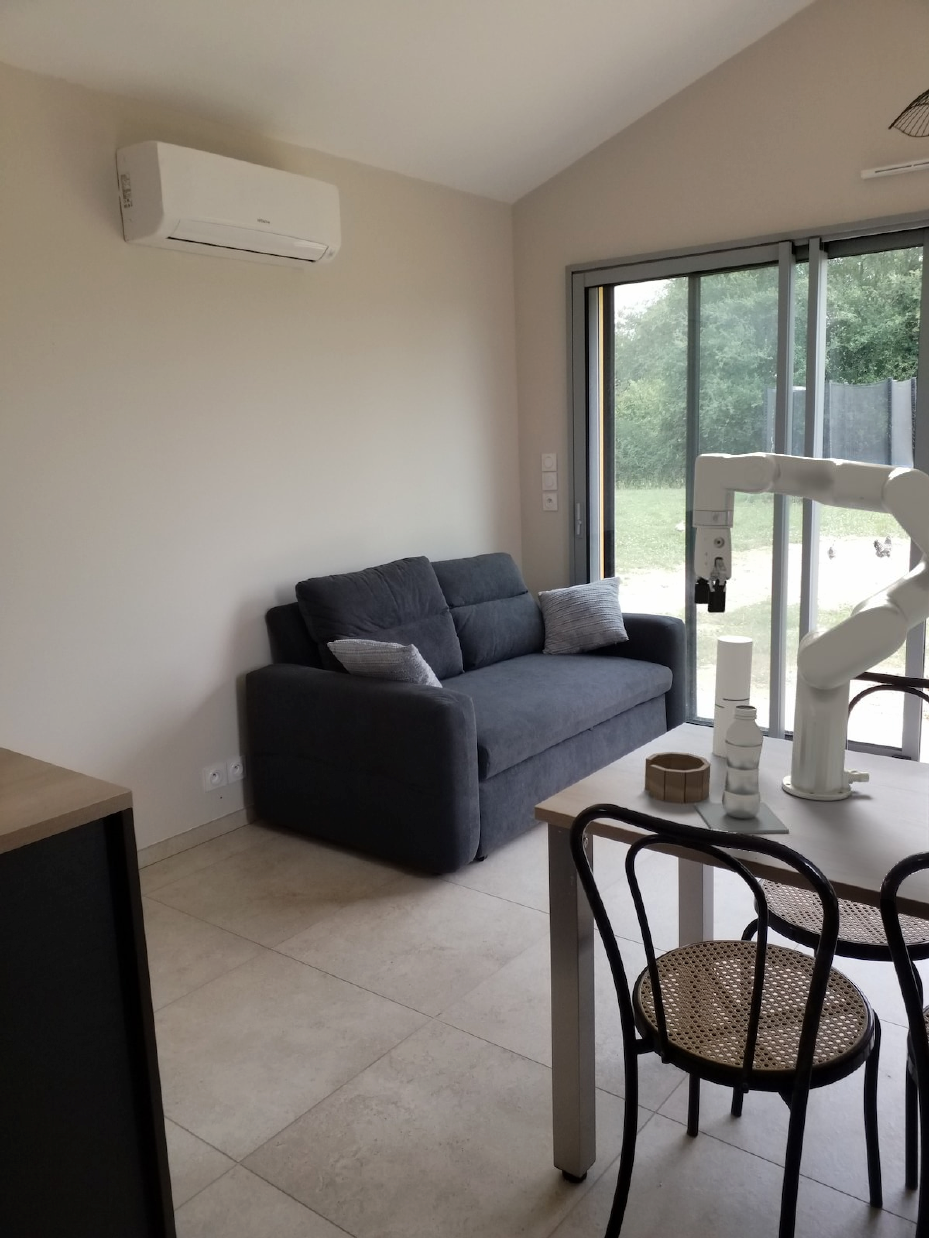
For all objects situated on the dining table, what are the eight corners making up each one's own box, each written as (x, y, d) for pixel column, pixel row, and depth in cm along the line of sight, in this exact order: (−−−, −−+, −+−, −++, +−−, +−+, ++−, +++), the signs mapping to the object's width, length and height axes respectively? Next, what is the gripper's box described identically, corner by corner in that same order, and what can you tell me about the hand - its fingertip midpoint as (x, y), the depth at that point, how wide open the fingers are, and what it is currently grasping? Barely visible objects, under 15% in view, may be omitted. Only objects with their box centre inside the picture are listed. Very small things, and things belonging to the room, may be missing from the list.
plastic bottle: (761, 824, 175) (767, 713, 171) (721, 821, 176) (726, 711, 172) (758, 810, 181) (764, 703, 177) (720, 808, 182) (725, 701, 178)
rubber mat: (764, 804, 185) (764, 802, 185) (788, 832, 172) (789, 829, 172) (694, 805, 185) (694, 803, 185) (713, 833, 172) (713, 830, 172)
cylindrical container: (740, 760, 210) (746, 643, 206) (707, 754, 214) (712, 640, 210) (751, 751, 216) (757, 638, 212) (719, 746, 220) (724, 634, 215)
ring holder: (698, 780, 198) (699, 751, 197) (715, 802, 186) (716, 771, 185) (640, 781, 198) (641, 752, 197) (653, 803, 186) (654, 772, 185)
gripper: (746, 523, 182) (741, 615, 185) (719, 515, 199) (715, 600, 202) (705, 523, 182) (701, 616, 185) (682, 515, 199) (679, 600, 202)
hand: (709, 608), depth 194 cm, fingers open, 9 cm apart
